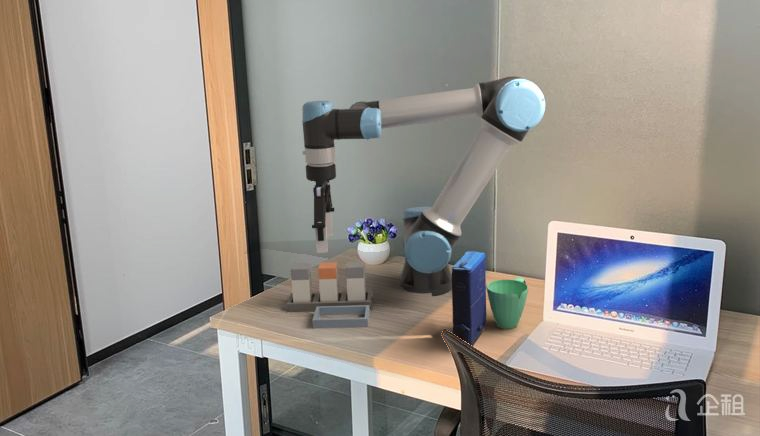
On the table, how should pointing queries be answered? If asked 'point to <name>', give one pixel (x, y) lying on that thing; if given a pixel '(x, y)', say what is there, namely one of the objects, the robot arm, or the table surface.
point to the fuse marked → (328, 282)
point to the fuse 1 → (301, 282)
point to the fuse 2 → (355, 281)
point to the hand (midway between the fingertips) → (325, 244)
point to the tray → (341, 321)
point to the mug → (507, 301)
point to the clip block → (316, 302)
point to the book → (469, 296)
